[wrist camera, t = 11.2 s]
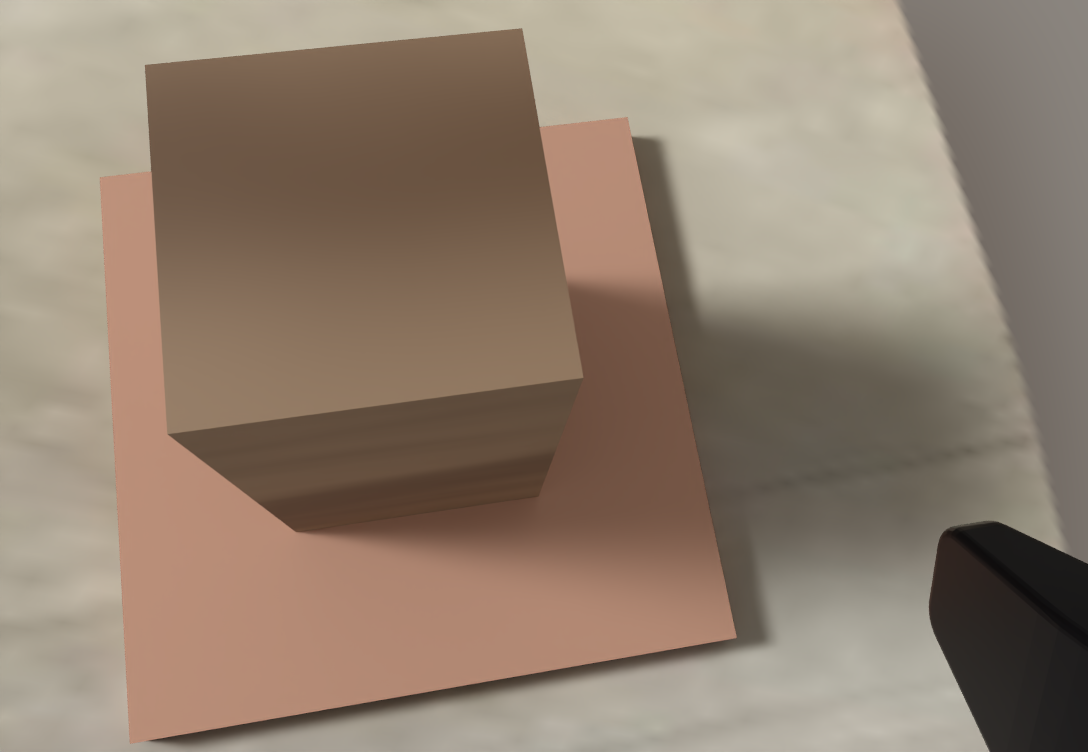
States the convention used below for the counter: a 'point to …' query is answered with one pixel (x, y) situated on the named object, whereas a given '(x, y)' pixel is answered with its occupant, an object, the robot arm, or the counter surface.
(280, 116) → the walnut block
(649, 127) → the counter surface
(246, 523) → the terracotta mat
